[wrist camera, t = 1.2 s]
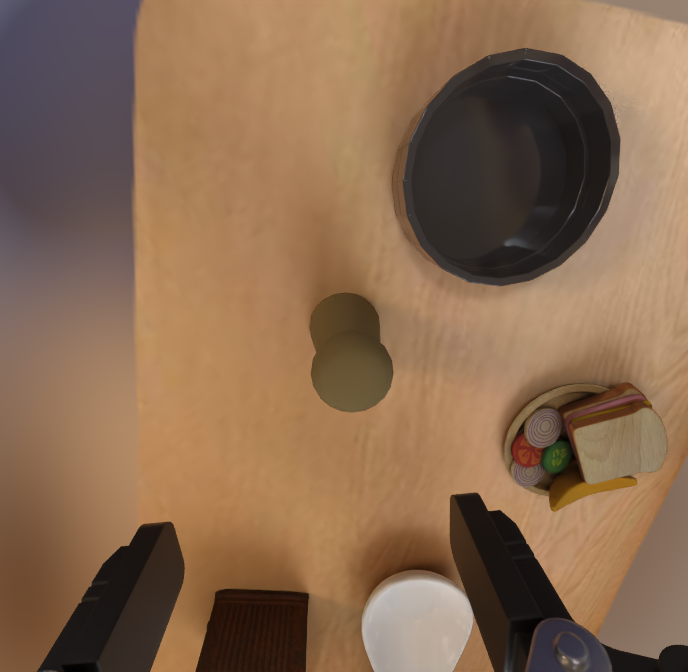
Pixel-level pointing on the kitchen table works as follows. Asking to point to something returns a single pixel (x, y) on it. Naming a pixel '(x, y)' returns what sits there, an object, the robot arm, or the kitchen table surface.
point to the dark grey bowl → (507, 167)
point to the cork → (349, 354)
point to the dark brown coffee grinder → (256, 632)
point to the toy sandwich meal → (584, 442)
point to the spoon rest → (416, 623)
